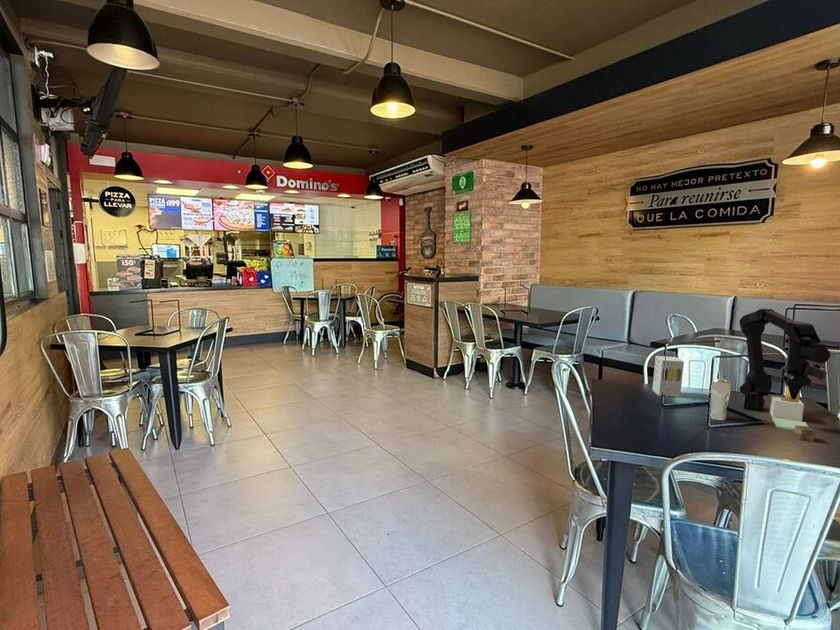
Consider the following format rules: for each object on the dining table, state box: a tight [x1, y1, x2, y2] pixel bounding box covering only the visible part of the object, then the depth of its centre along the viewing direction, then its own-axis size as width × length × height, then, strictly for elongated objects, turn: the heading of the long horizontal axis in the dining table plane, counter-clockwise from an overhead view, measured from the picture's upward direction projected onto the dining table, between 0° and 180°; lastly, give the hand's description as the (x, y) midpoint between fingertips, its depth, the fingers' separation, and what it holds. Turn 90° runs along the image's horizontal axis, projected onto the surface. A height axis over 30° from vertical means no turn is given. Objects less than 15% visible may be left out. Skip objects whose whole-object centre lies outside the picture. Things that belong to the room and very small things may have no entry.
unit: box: [769, 395, 805, 422], centre depth 181 cm, size 9×7×7 cm
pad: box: [771, 417, 810, 431], centre depth 172 cm, size 10×10×1 cm
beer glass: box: [708, 378, 732, 421], centre depth 179 cm, size 7×7×15 cm
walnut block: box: [793, 425, 816, 443], centre depth 160 cm, size 4×4×4 cm
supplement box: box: [652, 355, 685, 398], centre depth 209 cm, size 10×9×17 cm
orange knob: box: [784, 386, 801, 403], centre depth 171 cm, size 4×4×6 cm
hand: (792, 397), depth 171 cm, fingers closed on orange knob, 4 cm apart
